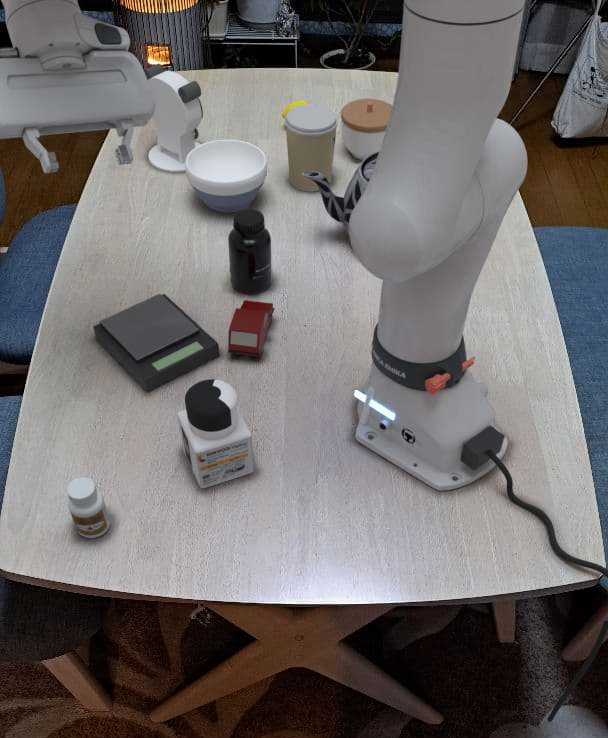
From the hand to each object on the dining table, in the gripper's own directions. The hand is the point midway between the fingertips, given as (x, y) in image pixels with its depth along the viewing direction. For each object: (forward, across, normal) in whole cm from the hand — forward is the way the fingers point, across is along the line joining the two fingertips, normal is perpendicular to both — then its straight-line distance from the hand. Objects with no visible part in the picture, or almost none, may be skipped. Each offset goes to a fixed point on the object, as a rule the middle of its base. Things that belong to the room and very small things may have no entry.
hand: (90, 166), depth 97 cm
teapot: (+10, +57, +20) cm, 61 cm away
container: (+39, +7, +5) cm, 40 cm away
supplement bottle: (+13, +30, +24) cm, 41 cm away
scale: (+20, +10, +22) cm, 31 cm away
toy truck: (+22, +24, +17) cm, 37 cm away
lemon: (-19, +63, +46) cm, 80 cm away
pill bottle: (+42, -12, +7) cm, 44 cm away
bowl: (-5, +39, +39) cm, 55 cm away
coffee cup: (-5, +55, +35) cm, 65 cm away
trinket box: (-9, +69, +35) cm, 78 cm away
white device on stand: (-18, +38, +51) cm, 66 cm away
